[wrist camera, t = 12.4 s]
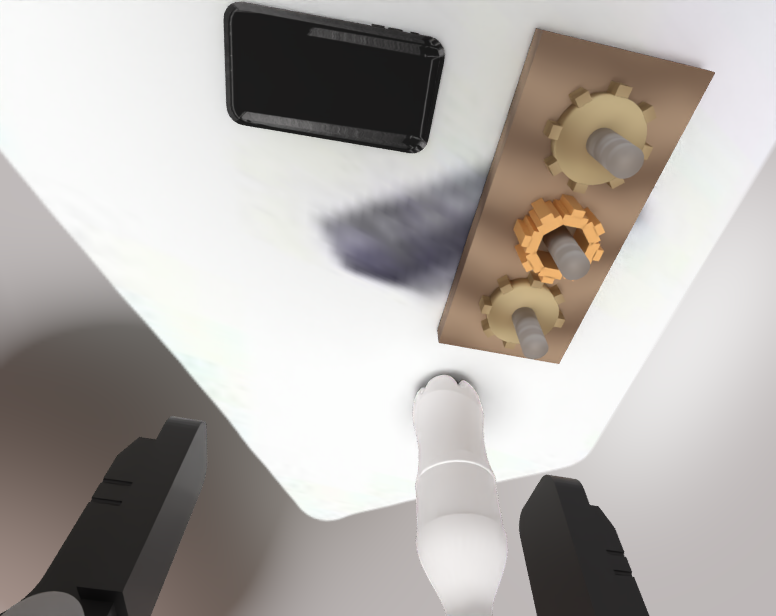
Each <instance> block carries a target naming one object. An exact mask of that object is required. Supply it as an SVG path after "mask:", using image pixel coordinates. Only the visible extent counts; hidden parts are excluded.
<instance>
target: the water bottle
mask: <svg viewBox="0 0 776 616" xmlns="http://www.w3.org/2000/svg"><path fill="white" fill-rule="evenodd" d="M483 420H484V413H483V408H482V404H481V401H480V398H479V396H478V394H477V393H476V391H475V390H474V388H473V387H472V386H471V385H470V384H469V383H468V382H466V381H464V380H462V381H461V382H459V384H457V382H456V381H455V380H454V379H453V378H452V377H451V376H447V375H439V376H436V377H434V378H433V379H431V380H430V381H429V382H428V384H427V385H426V387H425V388H424V387H422V388H421V389H420V390H419V391H418V392H417V394H416V397H415V400H414V404H413V425H414V428H415V432H416V436H417V442H418V472H417V478H416V483H415V490H416V508H417V536H416V547H417V553H418V557H419V560H420V562H421V565H422V567H423V569H424V571H425V573H426V575H427V577H428V579H429V581H430V583H431V585H432V586H433V588H434V590H435V591H436V593H437V595H438V597H439V598H440V601H441V603H442V605H443V608H444V610H445V613H446V616H492V613H493V603H494V599H495V596H496V593H497V590H498V587H499V584H500V581H501V578H502V575H503V571H504V568H505V564H506V560H507V554H508V544H507V543H508V542H507V535H506V532H505V530H504V527H503V522H502V517H501V511H500V506H499V500H498V495H497V489H496V478H495V475H494V473H493V471H492V469H491V466H490V464H489V461H488V458H487V454H486V450H485V444H484V435H483Z"/></svg>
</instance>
